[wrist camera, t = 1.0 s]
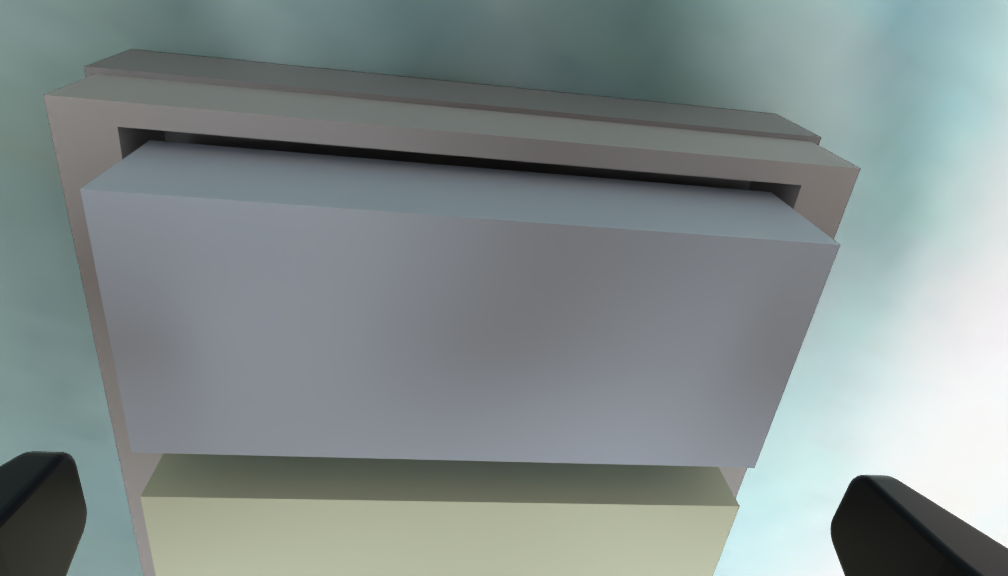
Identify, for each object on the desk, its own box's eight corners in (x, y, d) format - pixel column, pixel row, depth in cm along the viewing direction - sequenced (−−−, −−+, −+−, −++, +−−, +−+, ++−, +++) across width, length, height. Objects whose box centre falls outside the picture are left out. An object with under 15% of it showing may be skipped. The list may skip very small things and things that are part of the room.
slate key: (181, 368, 13) (131, 452, 11) (150, 140, 11) (80, 189, 9) (707, 390, 14) (754, 467, 12) (771, 192, 12) (839, 244, 10)
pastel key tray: (225, 709, 24) (190, 835, 20) (131, 49, 13) (27, 87, 10) (597, 701, 26) (621, 814, 22) (776, 114, 15) (872, 163, 12)
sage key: (208, 562, 16) (172, 660, 13) (186, 408, 13) (139, 496, 11) (652, 564, 17) (682, 653, 15) (697, 425, 15) (739, 506, 13)
